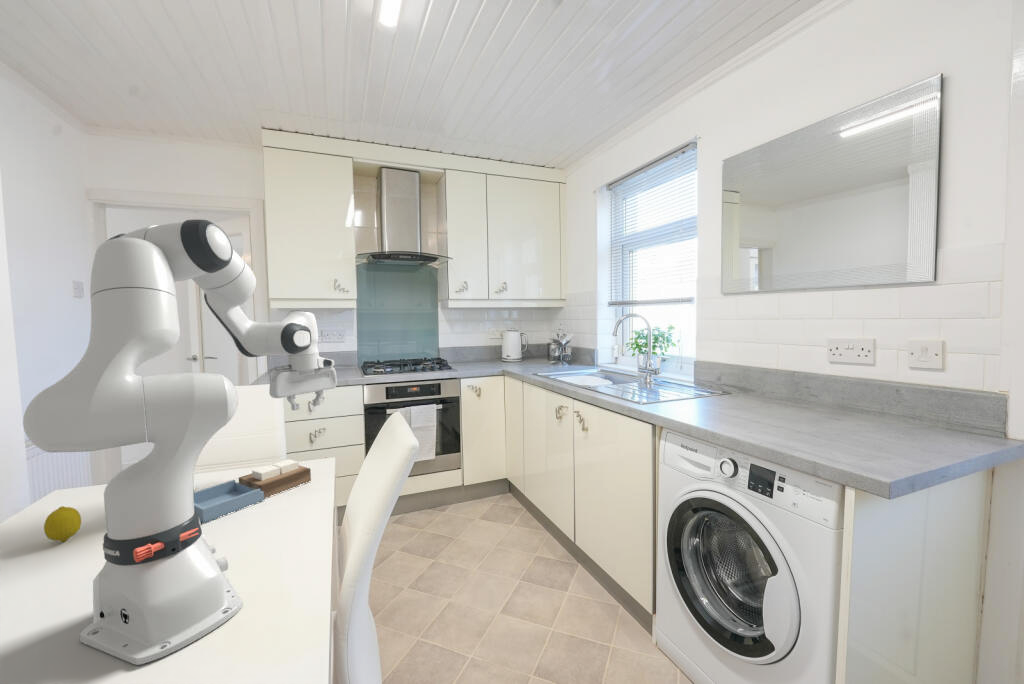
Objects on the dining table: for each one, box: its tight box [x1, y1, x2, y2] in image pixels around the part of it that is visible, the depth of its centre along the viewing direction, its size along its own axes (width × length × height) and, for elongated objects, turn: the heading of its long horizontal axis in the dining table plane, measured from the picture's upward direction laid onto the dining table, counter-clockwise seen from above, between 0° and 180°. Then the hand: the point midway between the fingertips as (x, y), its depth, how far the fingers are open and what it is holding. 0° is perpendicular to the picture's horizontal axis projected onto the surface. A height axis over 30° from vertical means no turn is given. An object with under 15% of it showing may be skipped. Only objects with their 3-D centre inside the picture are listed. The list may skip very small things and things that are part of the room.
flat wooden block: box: [238, 464, 312, 498], centre depth 118 cm, size 12×14×4 cm
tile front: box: [251, 464, 280, 480], centre depth 116 cm, size 5×5×2 cm
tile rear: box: [271, 458, 299, 474], centre depth 121 cm, size 5×5×2 cm
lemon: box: [43, 506, 82, 543], centre depth 90 cm, size 6×6×8 cm
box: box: [194, 479, 265, 524], centre depth 107 cm, size 14×14×4 cm
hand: (306, 407), depth 126 cm, fingers open, 5 cm apart
